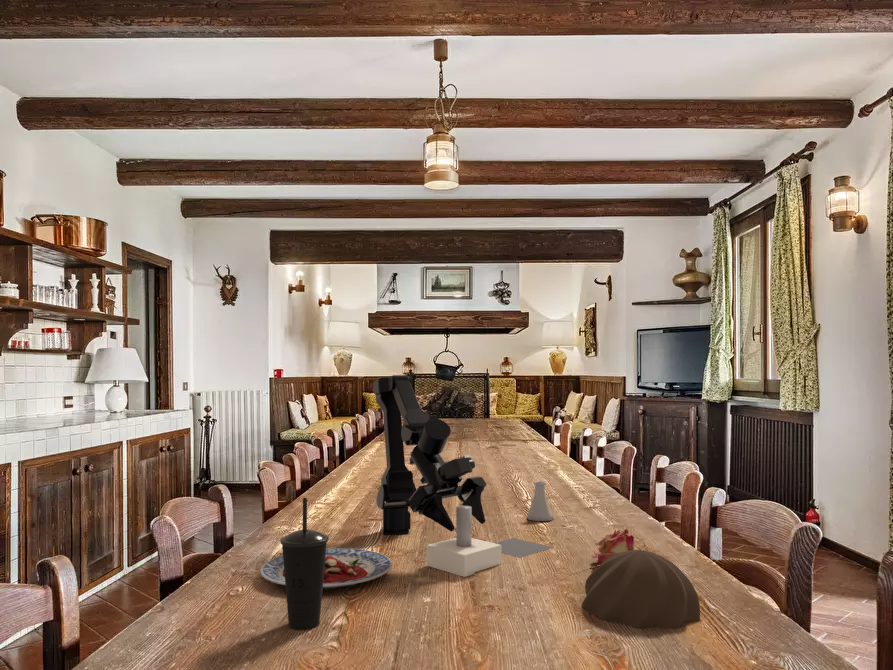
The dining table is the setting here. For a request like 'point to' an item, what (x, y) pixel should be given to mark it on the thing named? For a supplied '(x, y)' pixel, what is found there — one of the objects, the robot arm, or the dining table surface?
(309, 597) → the drinking cup
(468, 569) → the cream bowl cover
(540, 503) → the flask
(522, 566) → the dining table surface
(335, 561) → the ceramic plate
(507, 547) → the charcoal rubber mat
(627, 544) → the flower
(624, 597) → the decorative dome
